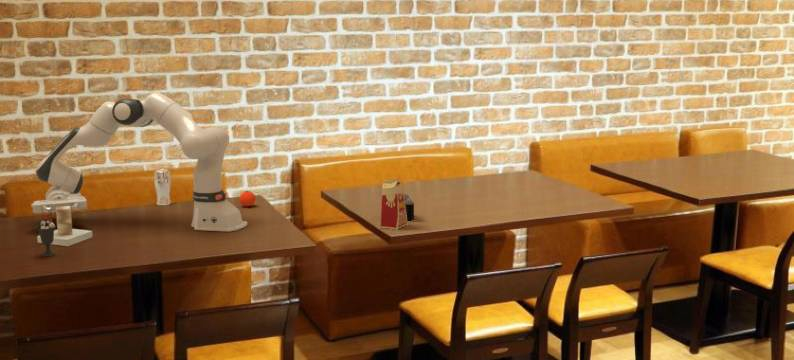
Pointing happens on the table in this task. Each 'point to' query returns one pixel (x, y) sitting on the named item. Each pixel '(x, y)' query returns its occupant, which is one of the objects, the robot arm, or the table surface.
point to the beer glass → (162, 186)
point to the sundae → (47, 234)
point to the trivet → (69, 237)
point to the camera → (409, 207)
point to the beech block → (64, 220)
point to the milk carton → (393, 205)
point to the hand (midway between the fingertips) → (61, 209)
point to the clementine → (247, 198)
